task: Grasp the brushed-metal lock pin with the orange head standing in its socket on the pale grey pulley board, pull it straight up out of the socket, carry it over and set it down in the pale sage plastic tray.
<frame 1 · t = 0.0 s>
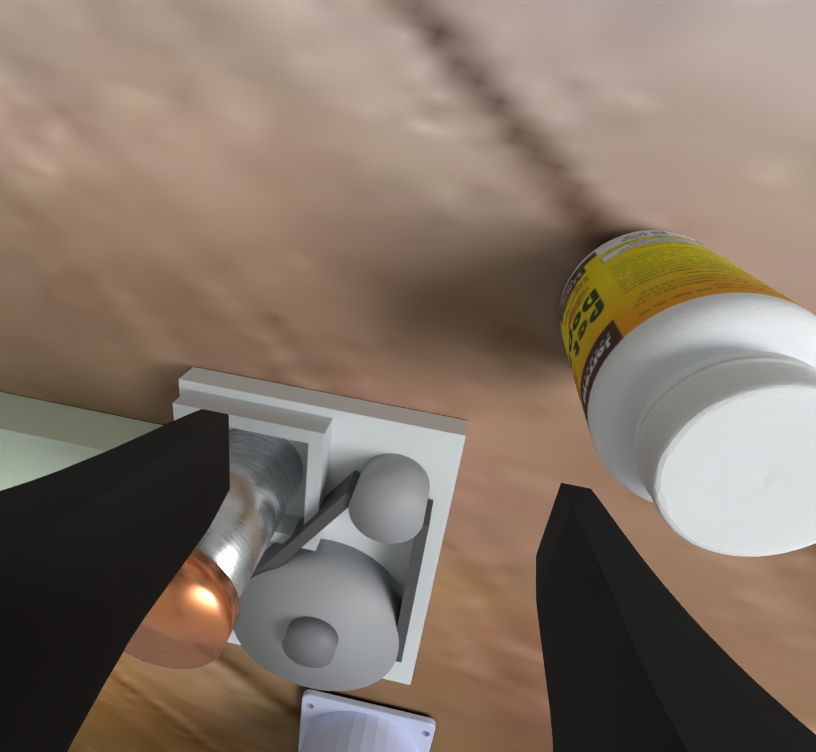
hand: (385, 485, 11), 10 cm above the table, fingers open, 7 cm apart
supplement bottle: (634, 304, 19), on the table
lock pin: (259, 464, 23), point 1 cm above the table, touching pulley board
pulley board: (316, 533, 26), on the table
tray: (92, 499, 27), on the table
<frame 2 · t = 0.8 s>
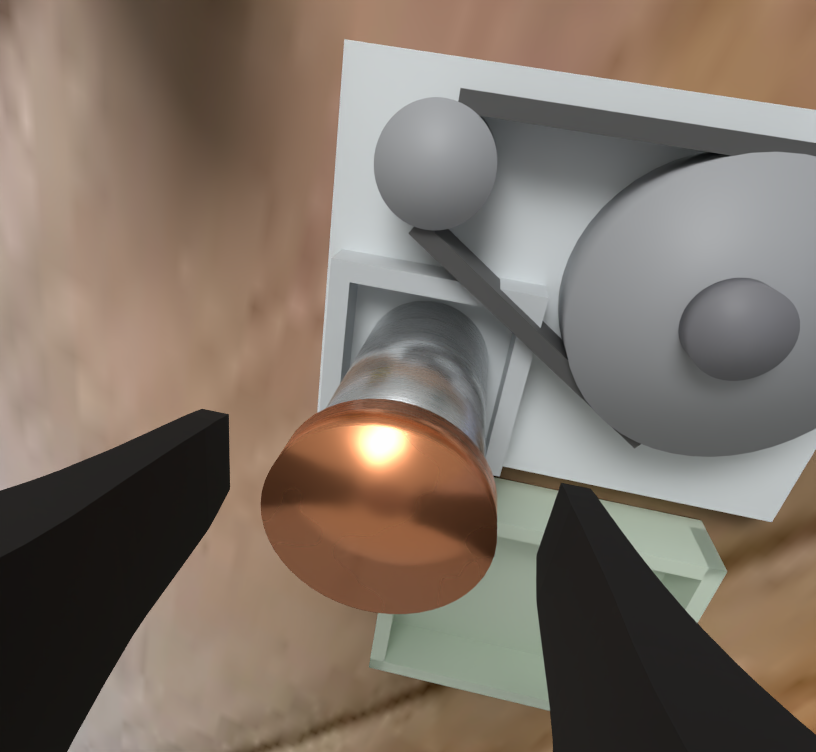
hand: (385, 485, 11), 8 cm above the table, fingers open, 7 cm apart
lock pin: (426, 359, 17), point 1 cm above the table, touching pulley board
pulley board: (581, 301, 17), on the table
tray: (522, 574, 22), on the table
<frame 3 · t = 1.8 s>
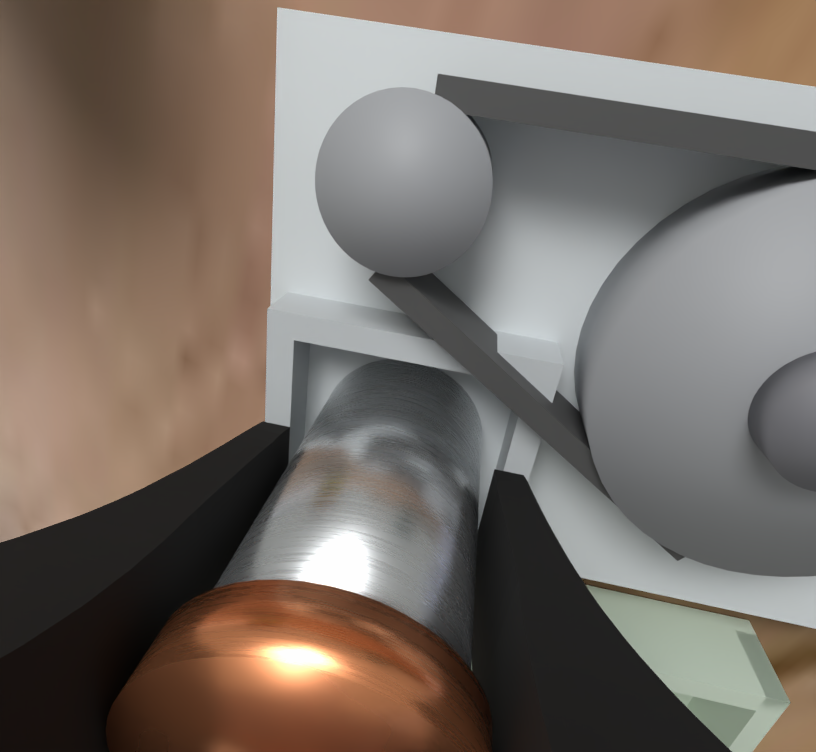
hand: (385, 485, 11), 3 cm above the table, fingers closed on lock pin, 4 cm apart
lock pin: (401, 431, 13), point 1 cm above the table, touching gripper, pulley board
pulley board: (603, 356, 13), on the table
tray: (525, 673, 18), on the table
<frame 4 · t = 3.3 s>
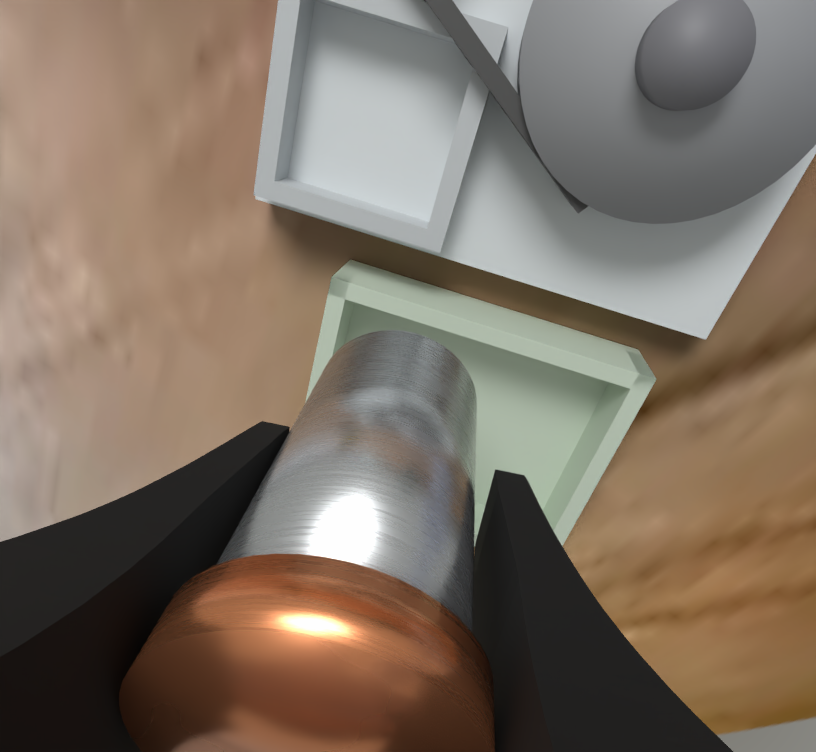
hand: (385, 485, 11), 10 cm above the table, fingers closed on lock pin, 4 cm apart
lock pin: (397, 402, 13), point 8 cm above the table, touching gripper
pulley board: (543, 75, 16), on the table
tray: (456, 406, 22), on the table
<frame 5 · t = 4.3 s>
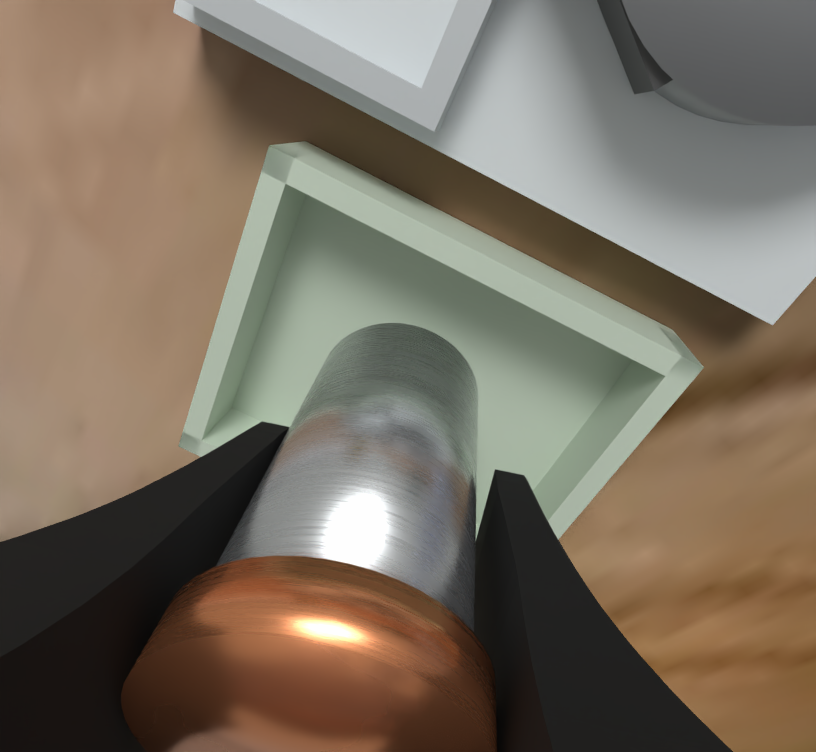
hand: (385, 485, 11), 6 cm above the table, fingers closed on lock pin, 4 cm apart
lock pin: (397, 395, 13), point 3 cm above the table, tilted 5°, touching gripper
tray: (420, 371, 16), on the table
when the fingers open (4 cm above the table, at t = 5.1 s): lock pin stays where it is, resting on tray.
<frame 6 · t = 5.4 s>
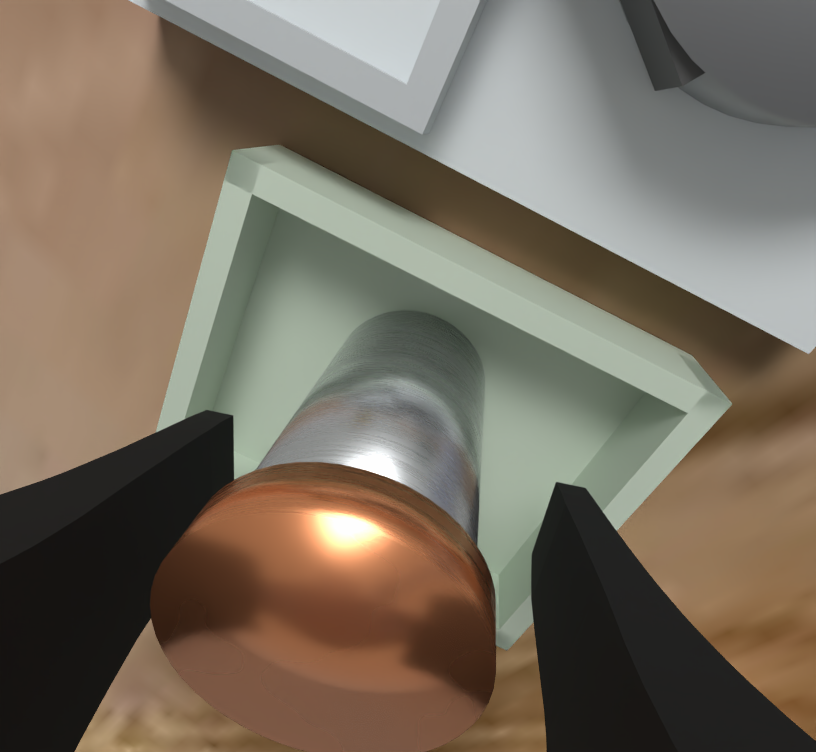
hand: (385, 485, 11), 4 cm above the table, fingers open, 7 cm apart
lock pin: (409, 382, 14), point 1 cm above the table, touching tray
tray: (411, 399, 15), on the table
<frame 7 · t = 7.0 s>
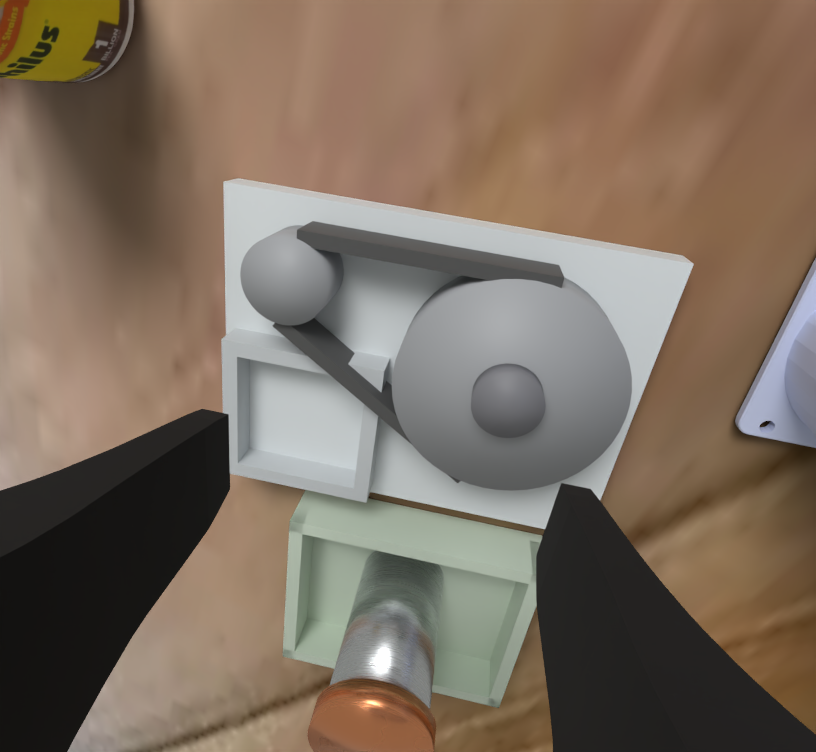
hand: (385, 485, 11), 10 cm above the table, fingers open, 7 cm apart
lock pin: (403, 575, 26), point 1 cm above the table, touching tray
pulley board: (427, 365, 21), on the table
tray: (409, 579, 27), on the table
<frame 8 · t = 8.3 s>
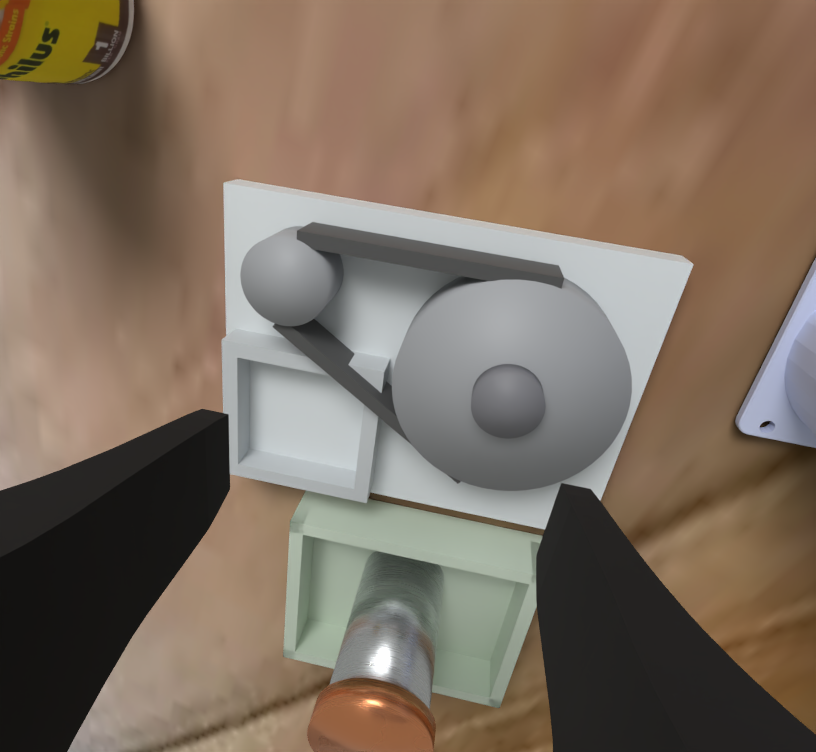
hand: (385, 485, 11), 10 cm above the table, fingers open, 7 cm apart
lock pin: (403, 575, 26), point 1 cm above the table, touching tray
pulley board: (427, 366, 21), on the table
tray: (409, 579, 27), on the table
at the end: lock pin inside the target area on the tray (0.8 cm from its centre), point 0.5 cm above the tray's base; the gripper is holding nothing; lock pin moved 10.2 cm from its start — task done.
